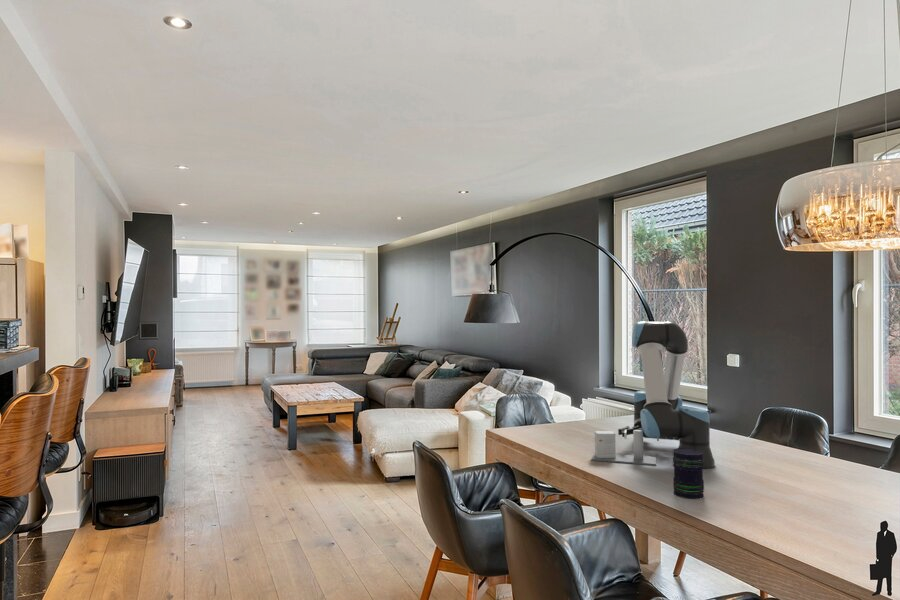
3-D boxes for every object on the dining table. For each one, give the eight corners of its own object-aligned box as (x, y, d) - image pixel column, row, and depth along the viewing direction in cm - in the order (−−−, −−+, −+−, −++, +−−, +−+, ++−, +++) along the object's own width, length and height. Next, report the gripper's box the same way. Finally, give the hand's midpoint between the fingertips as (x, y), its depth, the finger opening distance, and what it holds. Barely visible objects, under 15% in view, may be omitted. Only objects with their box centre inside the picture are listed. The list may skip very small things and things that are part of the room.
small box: (613, 455, 252) (613, 430, 253) (615, 458, 247) (615, 433, 247) (594, 454, 253) (594, 430, 253) (596, 457, 248) (596, 433, 248)
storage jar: (685, 500, 194) (685, 455, 194) (667, 491, 203) (666, 449, 203) (710, 497, 196) (710, 453, 197) (690, 489, 206) (690, 447, 206)
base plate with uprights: (655, 458, 249) (655, 429, 249) (656, 465, 238) (655, 434, 238) (593, 453, 257) (593, 425, 258) (591, 460, 246) (591, 430, 246)
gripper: (670, 437, 269) (672, 447, 249) (614, 433, 277) (612, 443, 257) (670, 421, 269) (671, 430, 249) (614, 418, 277) (611, 426, 257)
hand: (641, 436), depth 253 cm, fingers open, 13 cm apart
